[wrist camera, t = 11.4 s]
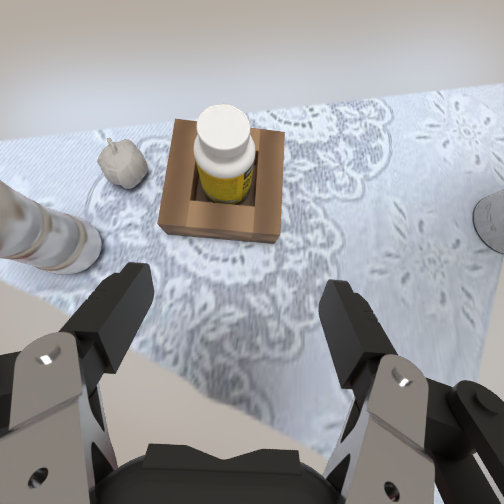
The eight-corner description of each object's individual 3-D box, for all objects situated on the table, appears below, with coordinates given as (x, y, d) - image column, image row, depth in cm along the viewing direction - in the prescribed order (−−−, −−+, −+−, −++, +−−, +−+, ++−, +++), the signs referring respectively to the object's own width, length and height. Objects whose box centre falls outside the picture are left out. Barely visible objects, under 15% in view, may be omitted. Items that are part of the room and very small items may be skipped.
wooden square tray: (278, 151, 33) (284, 132, 29) (274, 243, 30) (280, 235, 26) (182, 140, 32) (175, 118, 29) (167, 234, 29) (157, 223, 25)
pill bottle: (250, 210, 30) (259, 159, 19) (202, 209, 29) (184, 156, 19) (250, 168, 31) (259, 98, 20) (204, 166, 31) (189, 93, 20)
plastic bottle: (116, 229, 29) (-124, 81, 9) (98, 281, 27) (-230, 232, 8) (65, 219, 29) (-290, 46, 9) (44, 272, 27) (-432, 196, 8)
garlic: (113, 153, 31) (90, 125, 26) (154, 155, 32) (138, 127, 27) (107, 193, 30) (82, 171, 25) (150, 195, 30) (133, 173, 25)
